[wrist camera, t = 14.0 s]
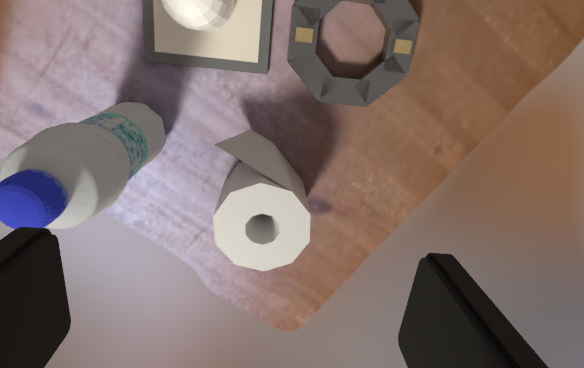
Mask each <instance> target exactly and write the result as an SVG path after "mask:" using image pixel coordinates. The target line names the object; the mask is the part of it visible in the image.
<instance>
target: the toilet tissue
mask: <svg viewBox="0 0 584 368" xmlns="http://www.w3.org/2000/svg"><path fill="white" fill-rule="evenodd" d="M215 145H216V146H218V147H219V148H221V149H223V150H224V151H226V152H228V153H229V154H231V155H233V156H234V157H236V158H238V159H239V160H241V162H238V164H237V165H236V167H235V168H234V169H233V171H232V172H231V174H230V175H229V177H228V178H227V179H226V181H225V182H224V185H223V188H222V191H221V194H220V197H219V200H218V203H217V206H216V209H215V212H214V215H213V223H214V234H215V244H216V245H217V246H218V247H219V248H220V249H221V250H222V251H223V252H224V253H225V255H226V256H227V257H228V258H229V259H230V260H231V261H232V262H233V263H234V264H235V265H239V266H244V267H248V268H252V269H256V270H260V271H266V270H270V269H273V268H276V267H280V266H283V265H286V264H290V263H292V262H293V261H294V260H295V258H296V257H297V256H298V255H299V254H300V252H301V251H302V250H303V249H304V248H305V247H306V245H307V244H308V243H309V242H310V211H309V206H308V202H307V197H306V193H305V189H304V184H303V181H302V179H301V178H300V177H299V175H298V174H297V173H296V172H295V170H294V169H293V168H292V166H291V165H290V164H289V163H288V161H287V160H286V159H285V157H284V156H283V155H282V153H281V152H280V151H279V150H278V148H277V147H276V146H275V144H274V143H273V142H271V141H270V140H268V139H266V138H265V137H263V136H261V135H259V134H258V133H256V132H254V131H253V130H250V131H247V132H245V133H242V134H240V135H237V136H234V137H232V138H229V139H227V140H224V141H222V142H219V143H217V144H215Z"/></svg>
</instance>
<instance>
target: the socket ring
mask: <svg viewBox="0 0 584 368" xmlns="http://www.w3.org/2000/svg"><path fill="white" fill-rule="evenodd" d="M341 1H349V2H357V3H365V4H370V5H371V6H372V8H373V10H374V11H375V13H376V14H377V16H378V18H379V19H380V21H381V22H382V24H383V25H384V27H385V29H386V33H385V38H384V43H383V49H382V54H381V59H380V61H378V62H377V63H376V64H375V65H373V66H372V67H371V68H370V69H369V70H367V71H366V72H365V73H364V74H362V75H361V76H360V77H359V78H349V77H340V76H332V75H331V74H330V72H329V71H328V70H327V68H326V67H325V65H324V64H323V63H322V61H321V60H320V59H319V57H318V56H317V54H316V53H315V51H316V43H317V35H318V26H319V20H320V19H321V18H322V17H323V16H325V15H326V14H327V13H328V12H329V11H330V10H332V9H333V8H334V7H335V6H336V5H337V4H338V3H340V2H341ZM293 5H294V6H292V13H291V23H290V34H289V44H288V54H287V60H289V61H288V63H289V64H290V65H291V67H292V68H293V69H294V71H295V72H296V73H297V74H298V76H299V77H300V78H301V80H302V81H303V82H304V84H305V85H306V86H307V88H308V89H309V90H310V91H311V93H312V94H313V95H314V97H315V98H316V99H317V100H318V101H319V102H323V103H333V104H343V105H353V106H363V107H366V105H367V106H369V105H370V104H371V103H372V102H374V101H375V100H376V99H377V98H379V97H380V96H381V95H383V94H384V93H385V92H386V91H388V90H389V89H390V88H392V87H393V86H394V85H395V84H397V83H398V82H399V81H400V80H402V79H403V78H404V77H406V76H407V75H406V74H405V73H408V72H409V67H410V62H411V58H412V53H413V49H414V44H415V40H416V35H417V30H418V26H419V21H417V20H418V19H419V18H418V16H417V14H416V13H415V11H414V9H413V8H412V6H411V4H410V3H409V1H408V0H297V1H296V2H295V3H294V4H293Z"/></svg>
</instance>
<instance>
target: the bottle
mask: <svg viewBox="0 0 584 368" xmlns="http://www.w3.org/2000/svg"><path fill="white" fill-rule="evenodd" d="M165 142H166V135H165V130H164V122H163V119H162V118H161V116H159V115H158V114H156V113H155V112H154V111H152V110H151V109H150V108H149V107H148V106H147V105H145V104H143V103H139V102H124V103H119V104H116V105H113V106H111V107H109V108H108V109H106V110H104V111H103V112H101V113H100V114H98V115H95V116H93V117H90V118H88V119H86V120H83V121H81V122H78V123H65V124H60V125H58V126H55V127H50V128H47V129H45V130H43V131H41V132H39V133H38V134H36V135H35V136H34V137H33V138H31V139H30V140H29V141H27V142H26V143H24V144H23V145H21V146H20V147H18V148H17V149H15V150H14V151H13V152H12V153H10V154H9V156H8V157H7V158H6V160H5V162H4V163H3V166H2V169H1V182H0V221H1V222H3V223H4V224H5V225H7V226H9V227H11V228H14V229H17V228H19V227H33V228H44V227H49V228H58V229H62V228H71V227H75V226H78V225H80V224H82V223H84V222H85V221H87V220H89V219H90V218H92V217H93V216H95V215H96V214H98V213H99V212H101V211H103V210H105V209H107V208H108V207H110V206H111V205H112V204H113V203H114V202H115V201H116V200H117V198H118V197H119V196H120V195H121V194H122V192H123V191H124V189H125V187H126V185H127V182H128V181H129V180H130V179H131V178H132V177H133V176H134V175H135V174H136V173H137V172H138V171H139V170H140V169H141V168H142V167H143V166H145V165H146V164H148V163H149V162H150V161H152V160H153V159H154V158H155V157H156V156H157V155H158V154H159V153H160V151H161V150H162V148H163V147H164V145H165Z"/></svg>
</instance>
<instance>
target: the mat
mask: <svg viewBox="0 0 584 368" xmlns="http://www.w3.org/2000/svg"><path fill="white" fill-rule="evenodd" d="M142 1H143V23H144V46H145V61H148V62H158V63H167V64H177V65H186V66H195V67H205V68H214V69H223V70H233V71H242V72H251V73H261V74H267V69H268V56H269V43H270V30H271V17H272V4H273V0H234V11H233V13H232V15H231V17H230V20H229V21H228V22H227V23H226V24H225V25H224V26H223V27H222V28H221V29H218V30H215V31H212V32H208V31H199V30H193V29H187V28H185V27H184V26H182V25H180V24H178V23H176V22H175V21H174V20H173V19H172V17H171V16H170V15H169V14H168V13H167V12H166V10H165V9H164V6H163V4H162V1H161V0H142Z"/></svg>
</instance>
